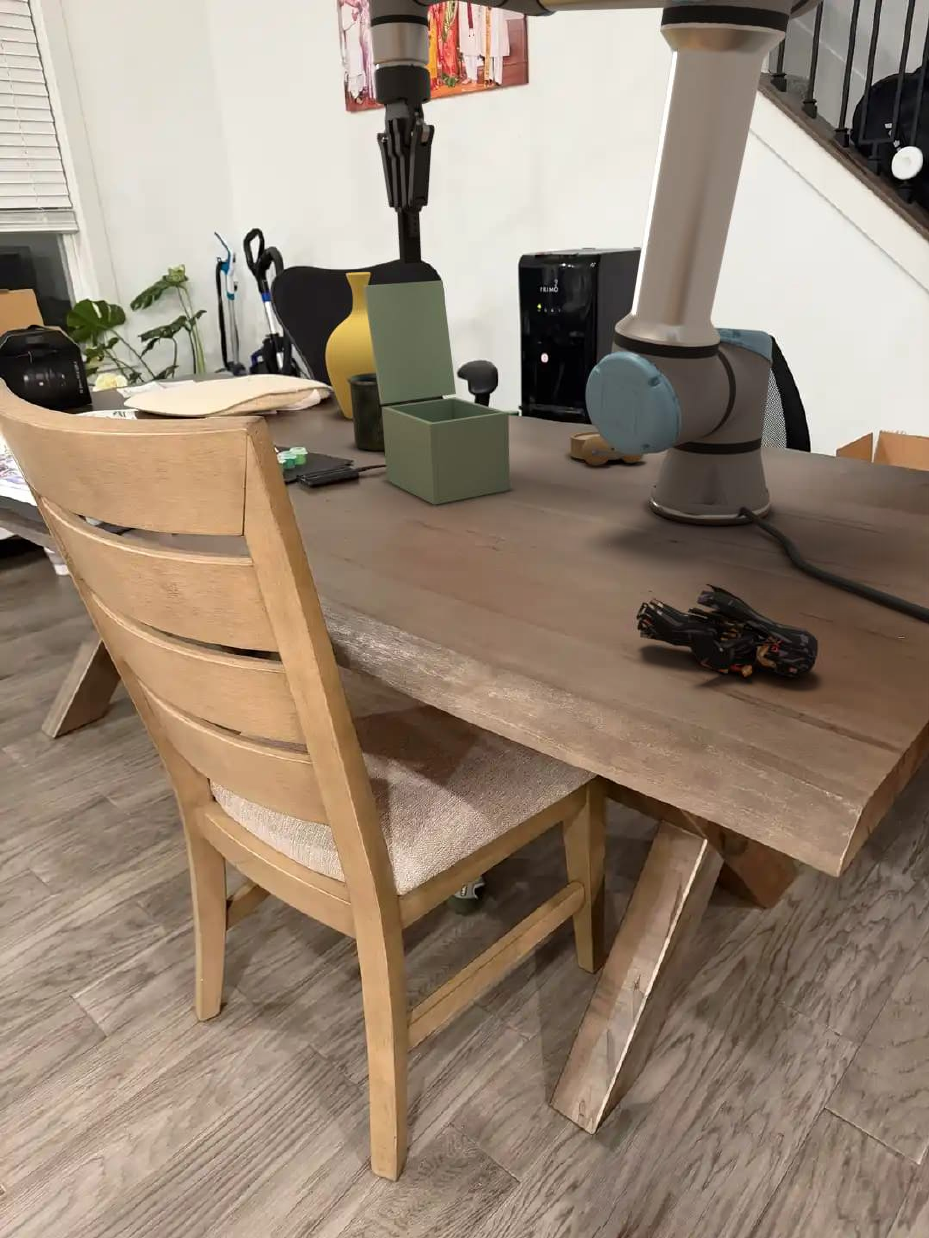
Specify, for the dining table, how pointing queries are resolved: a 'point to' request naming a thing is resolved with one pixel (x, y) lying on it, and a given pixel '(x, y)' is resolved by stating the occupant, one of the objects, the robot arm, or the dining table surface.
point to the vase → (351, 345)
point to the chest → (446, 449)
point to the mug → (368, 411)
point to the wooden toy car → (596, 449)
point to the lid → (410, 340)
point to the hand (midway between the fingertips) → (410, 263)
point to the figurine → (730, 635)
